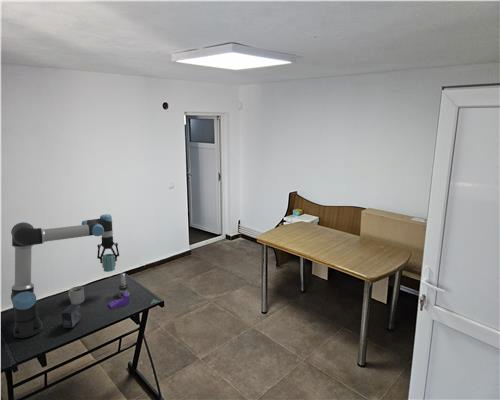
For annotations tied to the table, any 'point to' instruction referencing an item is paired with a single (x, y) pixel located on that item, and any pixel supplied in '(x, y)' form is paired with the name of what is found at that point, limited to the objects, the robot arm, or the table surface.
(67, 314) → the small box
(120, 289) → the ring
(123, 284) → the pipe
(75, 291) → the mug
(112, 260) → the sleeve
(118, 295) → the plate
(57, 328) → the table surface
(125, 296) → the bracket
